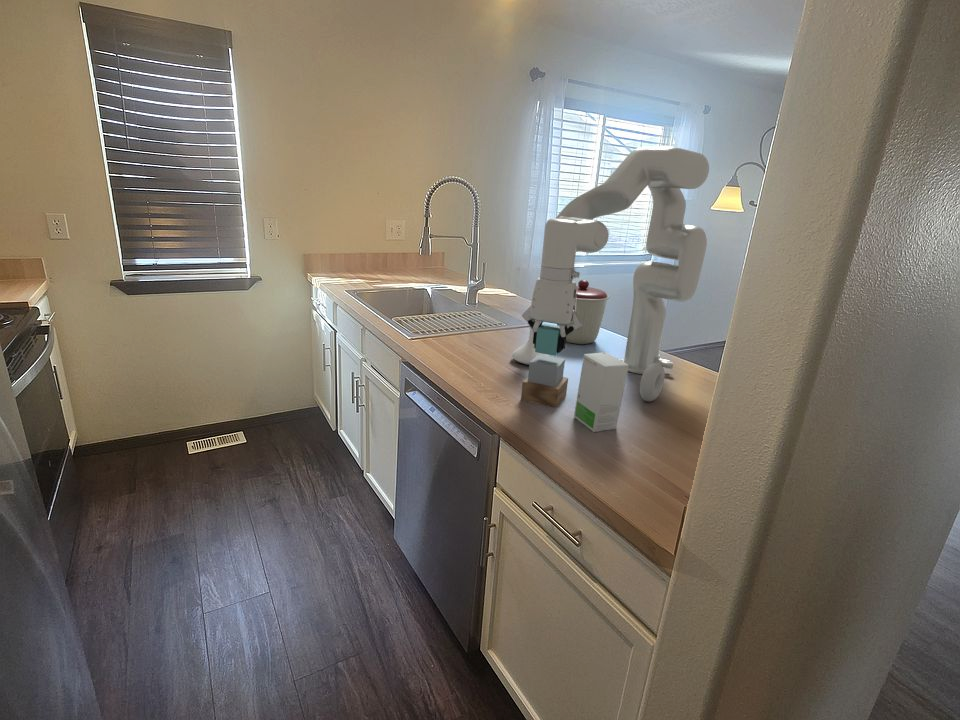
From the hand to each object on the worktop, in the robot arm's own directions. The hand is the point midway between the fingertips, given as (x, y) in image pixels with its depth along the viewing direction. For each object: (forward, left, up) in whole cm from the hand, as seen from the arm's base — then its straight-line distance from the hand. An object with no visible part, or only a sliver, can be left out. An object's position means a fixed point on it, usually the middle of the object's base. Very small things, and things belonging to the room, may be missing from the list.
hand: (548, 348), depth 125 cm
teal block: (0, 0, -1) cm, 1 cm away
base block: (0, 0, -13) cm, 13 cm away
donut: (-24, -13, -13) cm, 30 cm away
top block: (0, 0, -8) cm, 8 cm away
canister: (+6, -56, -13) cm, 58 cm away
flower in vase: (+12, -25, -13) cm, 31 cm away
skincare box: (-15, +8, -13) cm, 22 cm away
